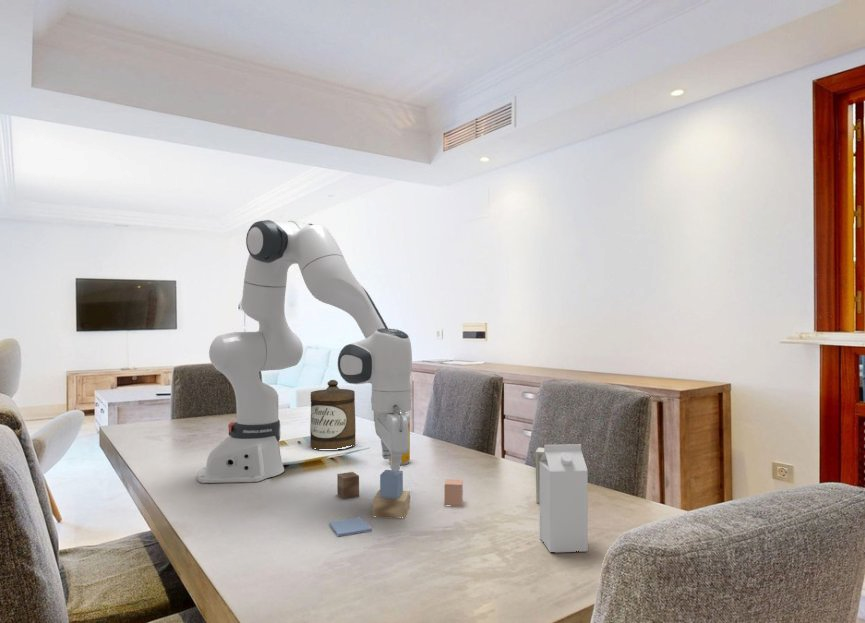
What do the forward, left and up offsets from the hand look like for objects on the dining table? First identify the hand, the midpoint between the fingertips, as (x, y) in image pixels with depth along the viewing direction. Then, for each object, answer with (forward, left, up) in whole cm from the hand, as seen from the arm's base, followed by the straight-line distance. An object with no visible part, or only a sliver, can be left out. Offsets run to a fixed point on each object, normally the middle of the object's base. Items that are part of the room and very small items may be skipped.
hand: (390, 464), depth 124 cm
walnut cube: (-8, +13, -11) cm, 19 cm away
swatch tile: (-10, -8, -10) cm, 16 cm away
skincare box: (+37, -4, -11) cm, 39 cm away
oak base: (0, 0, -11) cm, 11 cm away
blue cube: (0, -1, -7) cm, 7 cm away
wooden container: (-7, +66, -11) cm, 68 cm away
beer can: (+10, +39, -11) cm, 42 cm away
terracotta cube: (+15, +1, -11) cm, 19 cm away
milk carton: (+28, -27, -11) cm, 40 cm away
